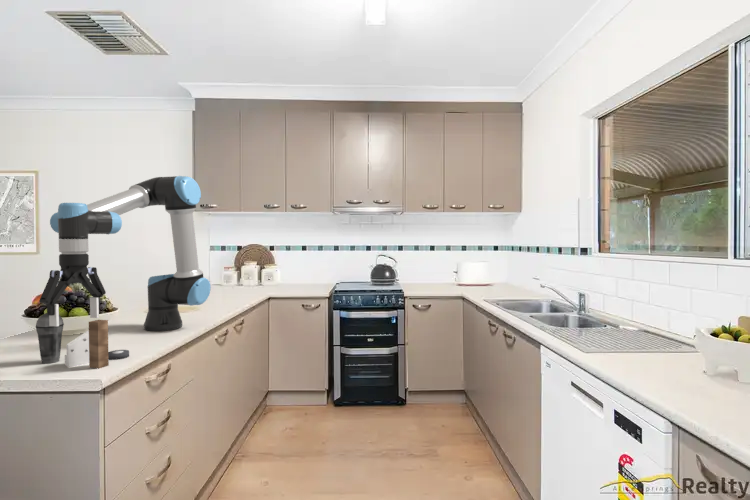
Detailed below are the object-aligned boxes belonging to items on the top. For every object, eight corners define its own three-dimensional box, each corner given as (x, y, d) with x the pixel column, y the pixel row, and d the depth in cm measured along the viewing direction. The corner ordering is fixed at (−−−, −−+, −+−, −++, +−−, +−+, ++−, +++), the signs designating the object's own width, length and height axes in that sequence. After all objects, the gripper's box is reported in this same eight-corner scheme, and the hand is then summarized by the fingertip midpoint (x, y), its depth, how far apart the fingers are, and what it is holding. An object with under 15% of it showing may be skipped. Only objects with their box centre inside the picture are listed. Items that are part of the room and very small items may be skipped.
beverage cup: (64, 357, 143) (63, 296, 143) (64, 362, 137) (63, 299, 137) (36, 360, 139) (35, 298, 139) (35, 366, 133) (33, 301, 133)
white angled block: (105, 352, 140) (89, 331, 137) (74, 374, 134) (56, 352, 130) (101, 350, 143) (85, 329, 139) (70, 372, 136) (53, 350, 133)
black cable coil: (118, 353, 148) (117, 348, 148) (133, 355, 146) (133, 350, 146) (101, 358, 142) (101, 353, 142) (117, 360, 140) (117, 355, 140)
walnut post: (99, 364, 136) (98, 319, 135) (108, 365, 135) (107, 320, 134) (89, 367, 132) (88, 321, 132) (98, 368, 131) (98, 322, 131)
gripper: (99, 251, 148) (100, 313, 149) (22, 254, 124) (24, 329, 124) (117, 251, 146) (118, 315, 147) (43, 255, 122) (45, 330, 123)
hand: (75, 321), depth 136 cm, fingers open, 13 cm apart
